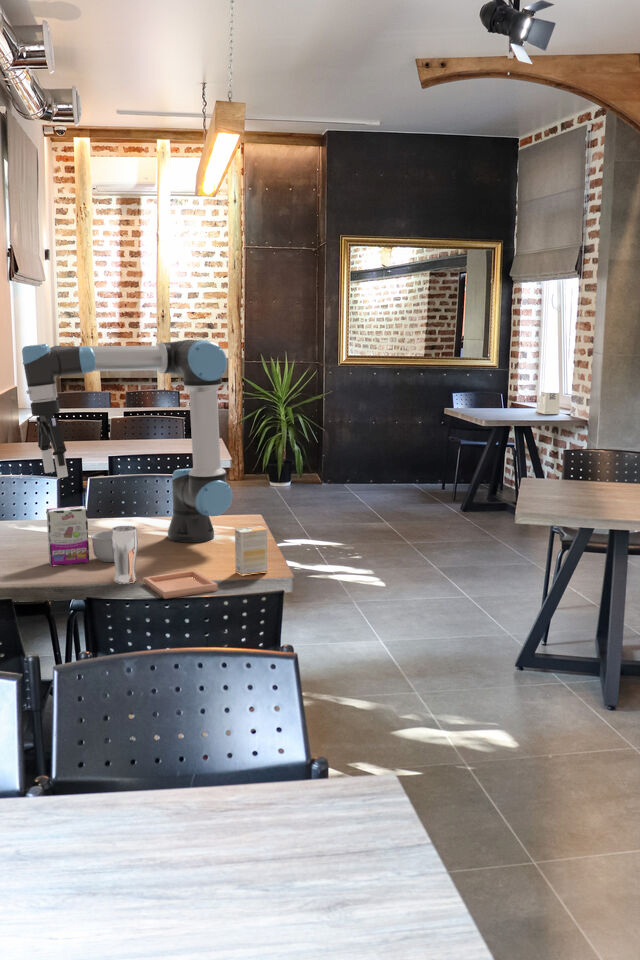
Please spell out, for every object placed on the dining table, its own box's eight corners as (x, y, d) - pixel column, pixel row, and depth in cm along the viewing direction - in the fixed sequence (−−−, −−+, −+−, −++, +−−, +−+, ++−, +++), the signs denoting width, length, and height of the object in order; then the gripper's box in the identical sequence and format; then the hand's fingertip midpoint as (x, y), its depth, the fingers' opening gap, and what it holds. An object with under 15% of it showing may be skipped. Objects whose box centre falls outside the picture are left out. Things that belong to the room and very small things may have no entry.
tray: (194, 576, 253) (194, 570, 253) (217, 590, 240) (217, 584, 240) (143, 583, 245) (143, 577, 245) (164, 598, 233) (164, 592, 232)
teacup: (120, 565, 263) (119, 539, 262) (85, 563, 265) (84, 536, 264) (139, 553, 276) (138, 528, 275) (106, 551, 278) (105, 526, 277)
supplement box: (261, 569, 261) (261, 525, 259) (267, 573, 257) (268, 529, 255) (234, 572, 258) (234, 528, 255) (240, 577, 253) (240, 531, 251)
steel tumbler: (116, 586, 243) (114, 532, 240) (109, 579, 249) (108, 526, 246) (141, 583, 246) (140, 529, 243) (134, 576, 252) (133, 524, 249)
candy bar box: (86, 559, 269) (85, 505, 266) (89, 563, 265) (88, 508, 262) (48, 562, 265) (46, 507, 262) (50, 566, 260) (48, 511, 257)
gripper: (19, 400, 260) (32, 472, 264) (42, 404, 239) (55, 482, 243) (45, 397, 264) (57, 467, 268) (69, 399, 243) (82, 476, 247)
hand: (56, 474), depth 256 cm, fingers open, 13 cm apart
